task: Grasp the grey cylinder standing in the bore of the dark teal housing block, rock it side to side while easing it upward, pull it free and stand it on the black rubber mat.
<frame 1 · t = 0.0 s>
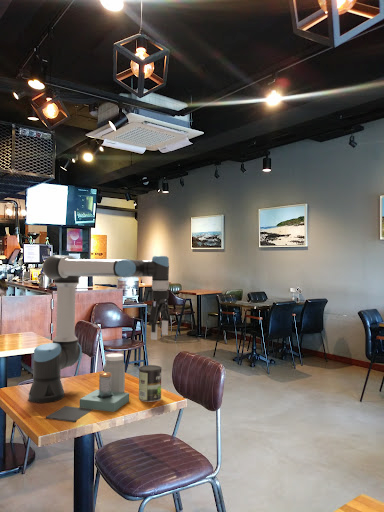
hand: (159, 337, 183), 28 cm above the table, fingers open, 13 cm apart
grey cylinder: (104, 404, 174), resting on housing
coffee can: (149, 399, 183), on the table
jar: (113, 393, 190), on the table
housing: (104, 405, 174), on the table
mat: (69, 414, 162), on the table
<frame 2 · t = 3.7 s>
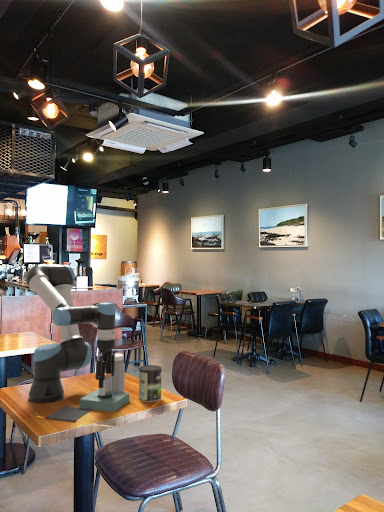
hand: (105, 393, 174), 5 cm above the table, fingers closed on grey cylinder, 5 cm apart
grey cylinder: (104, 404, 174), resting on housing, touching gripper
everything else where it was.
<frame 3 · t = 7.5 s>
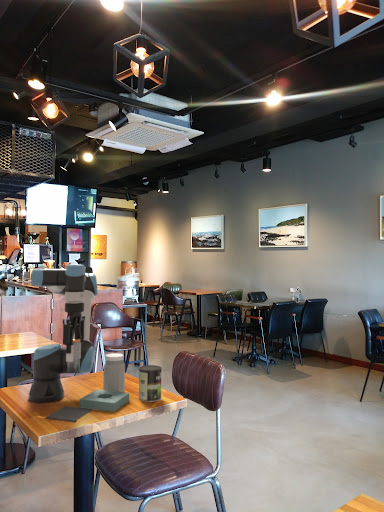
hand: (73, 359, 164), 22 cm above the table, fingers closed on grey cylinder, 5 cm apart
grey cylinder: (73, 371, 164), point 17 cm above the table, touching gripper
everything else where it was.
when the fingers open (6 cm above the table, at t = 11.3 s): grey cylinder stays where it is, resting on mat.
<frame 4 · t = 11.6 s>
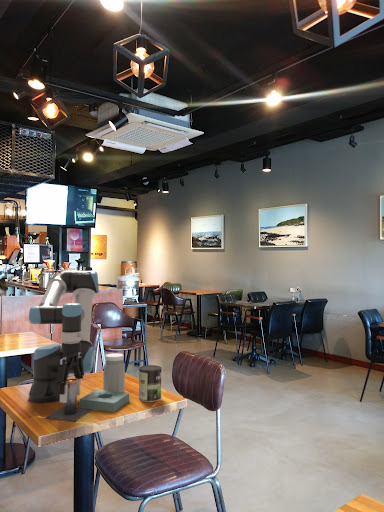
hand: (70, 398, 163), 6 cm above the table, fingers open, 9 cm apart
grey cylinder: (70, 412, 162), point 1 cm above the table, touching mat
everything else where it was.
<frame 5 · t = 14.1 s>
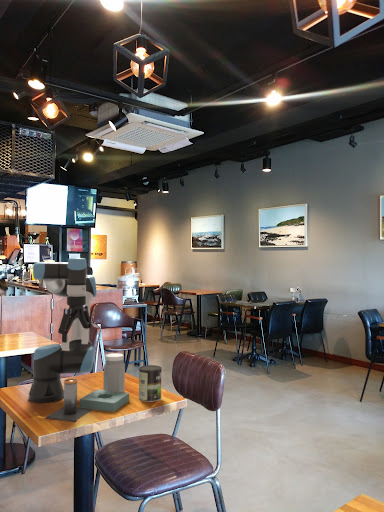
hand: (75, 347, 167), 26 cm above the table, fingers open, 13 cm apart
nothing on the table moved.
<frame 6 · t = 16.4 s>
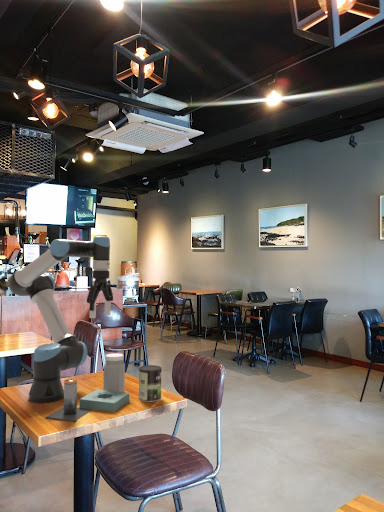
hand: (100, 316, 186), 37 cm above the table, fingers open, 13 cm apart
nothing on the table moved.
at the end: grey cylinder inside the target area on the mat (0.1 cm from its centre), point 0.6 cm above the mat's base; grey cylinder tilted 0°; the gripper is holding nothing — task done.
